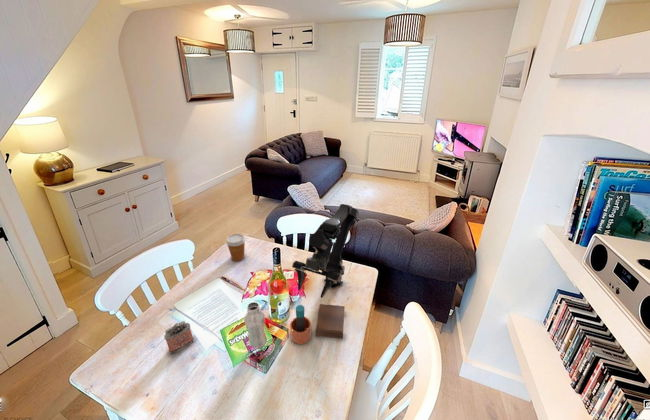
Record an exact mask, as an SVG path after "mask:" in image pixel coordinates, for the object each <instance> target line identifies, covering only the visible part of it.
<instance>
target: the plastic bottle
mask: <svg viewBox="0 0 650 420" xmlns="http://www.w3.org/2000/svg"><path fill="white" fill-rule="evenodd" d="M246 307H247V308H246V309H247V310H246V311H247V312H246V313H245V315H244V319H243V322H244V325H245V327H246V331H247V334H248V342H249V343H250V345H251V346H252V347H253V348H256V349H262V348H263V347H264V346H265V344H266V342H267V339H268V336H267V334H266V329H265V328H266V327H265V323H266V321H265V320H266V316H265V313H264V312H263V310H261V308H260V304H259V303H258V302H256V301H252V302H249V303H248V304H247V306H246Z"/></svg>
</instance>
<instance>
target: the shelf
mask: <svg viewBox="0 0 650 420" xmlns="http://www.w3.org/2000/svg"><path fill="white" fill-rule="evenodd" d="M345 309H346V308H345V305H336V304H325V303H319V307H318V311H317V319H316V325H315V337H318V338H319V337H320V338H329V339H330V338H331V339H339V340H343V339H344V326H345Z"/></svg>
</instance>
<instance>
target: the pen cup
mask: <svg viewBox="0 0 650 420" xmlns="http://www.w3.org/2000/svg"><path fill="white" fill-rule="evenodd" d="M304 328H305V331H304V332H297V322H296V317H294V318H293V319H292V320H291V321H290V324H289V330H290V339H291V341H292V343H294V344H298V345H303V344H306V343H308V342H309V340H310V339H311V336H312V322H311V320H310V318H308V317H306V316H304Z"/></svg>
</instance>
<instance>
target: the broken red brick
mask: <svg viewBox="0 0 650 420" xmlns="http://www.w3.org/2000/svg"><path fill="white" fill-rule="evenodd" d="M164 332H165V334H164V336H163V338H164V340H165V342H166V344H167V347H168V353H169V354H170V355H175V354H177V353H179V352H181V351H183V350H184V349H186V348H188V347H189V346H190V345H192V344H193V343H194V342H195V338H194V335H193V333H192V330H191V324H190V322H186V321H185V320H182V321H181V322H176V323H174V324H173V326H171V327H169V328H167V329H166V330H165V331H164Z"/></svg>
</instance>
